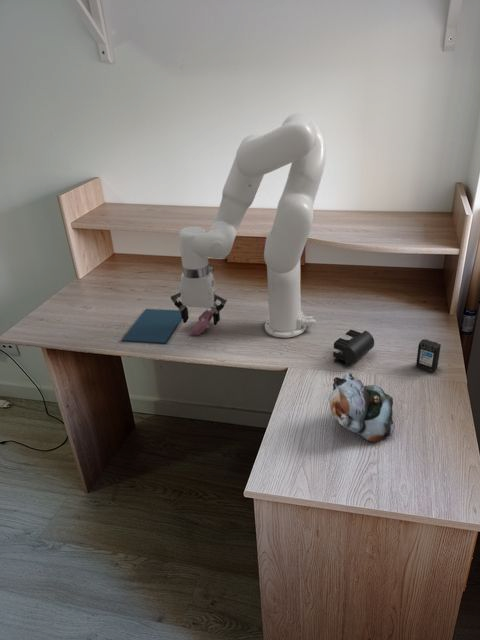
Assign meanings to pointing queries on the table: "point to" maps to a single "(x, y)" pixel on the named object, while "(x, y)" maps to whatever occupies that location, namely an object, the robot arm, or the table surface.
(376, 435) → the lucky cat figurine
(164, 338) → the rubber mat
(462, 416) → the table surface
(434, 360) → the ink cartridge
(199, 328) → the video game controller
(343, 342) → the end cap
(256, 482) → the table surface
